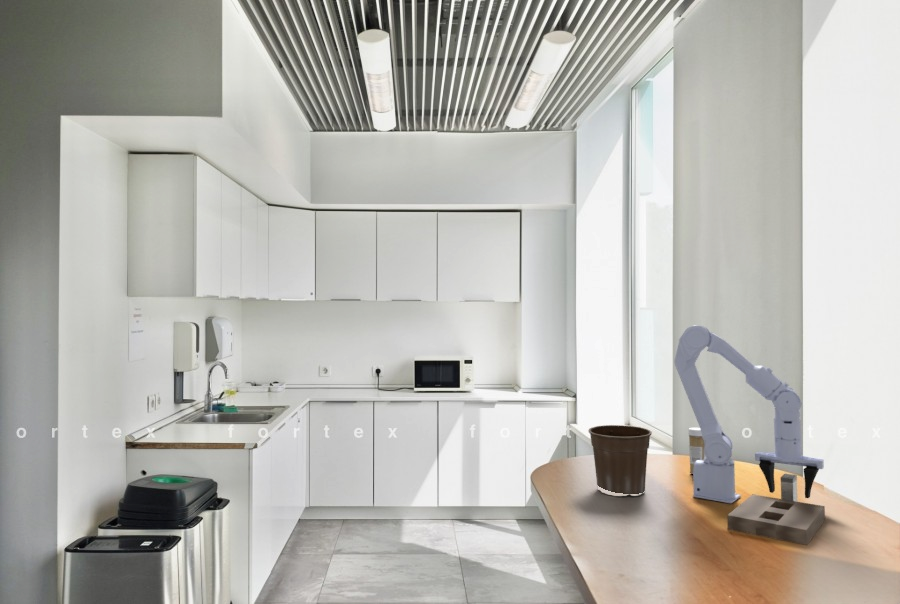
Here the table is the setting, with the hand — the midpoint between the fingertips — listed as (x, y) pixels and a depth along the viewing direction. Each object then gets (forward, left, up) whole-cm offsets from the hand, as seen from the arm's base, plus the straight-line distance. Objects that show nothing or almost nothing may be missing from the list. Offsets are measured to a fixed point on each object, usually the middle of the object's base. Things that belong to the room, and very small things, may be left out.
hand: (789, 494), depth 147 cm
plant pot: (-37, -14, -3) cm, 40 cm away
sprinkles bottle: (-27, +16, -3) cm, 32 cm away
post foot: (+1, -17, -3) cm, 17 cm away
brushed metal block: (0, 0, -3) cm, 3 cm away
